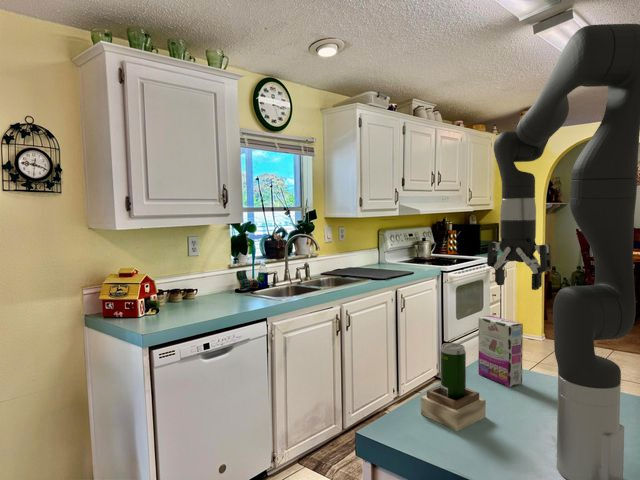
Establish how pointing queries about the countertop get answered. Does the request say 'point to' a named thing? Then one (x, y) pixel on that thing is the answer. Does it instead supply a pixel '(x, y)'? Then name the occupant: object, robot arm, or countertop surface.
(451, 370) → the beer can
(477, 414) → the pedestal
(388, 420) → the countertop surface
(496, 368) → the candy bar box
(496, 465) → the countertop surface
